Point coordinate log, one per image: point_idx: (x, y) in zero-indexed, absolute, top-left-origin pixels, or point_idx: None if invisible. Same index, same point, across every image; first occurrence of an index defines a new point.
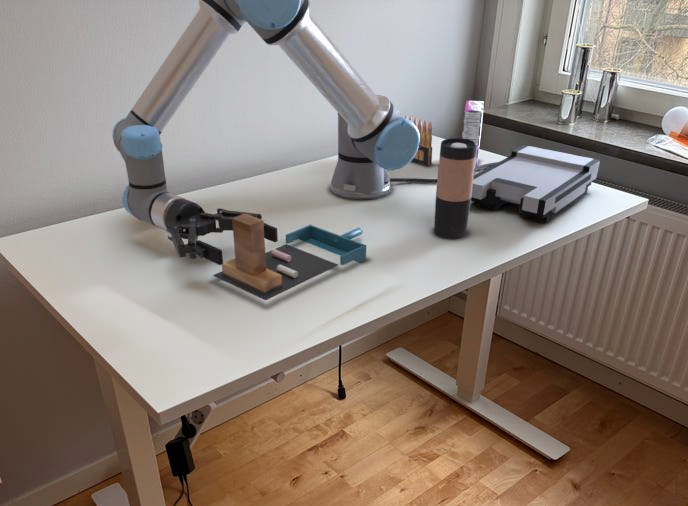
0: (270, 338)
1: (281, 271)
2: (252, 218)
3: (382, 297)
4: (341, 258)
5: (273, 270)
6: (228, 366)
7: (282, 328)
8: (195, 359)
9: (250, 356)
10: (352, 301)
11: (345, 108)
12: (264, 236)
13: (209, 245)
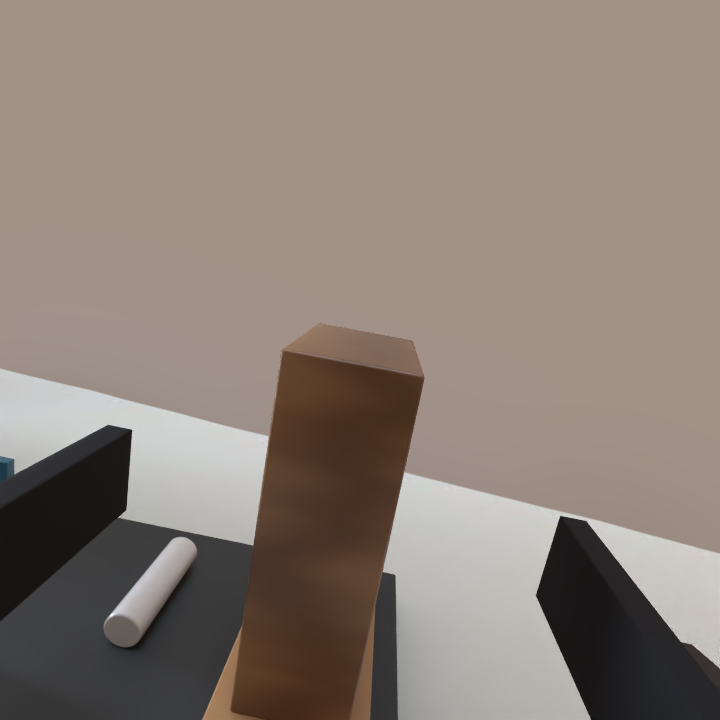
0: (487, 530)
1: (159, 608)
2: (333, 336)
3: (181, 437)
4: (11, 468)
5: (118, 677)
6: (627, 549)
7: (435, 527)
8: (716, 615)
9: None
10: (225, 466)
11: None
12: (55, 559)
13: (625, 598)
